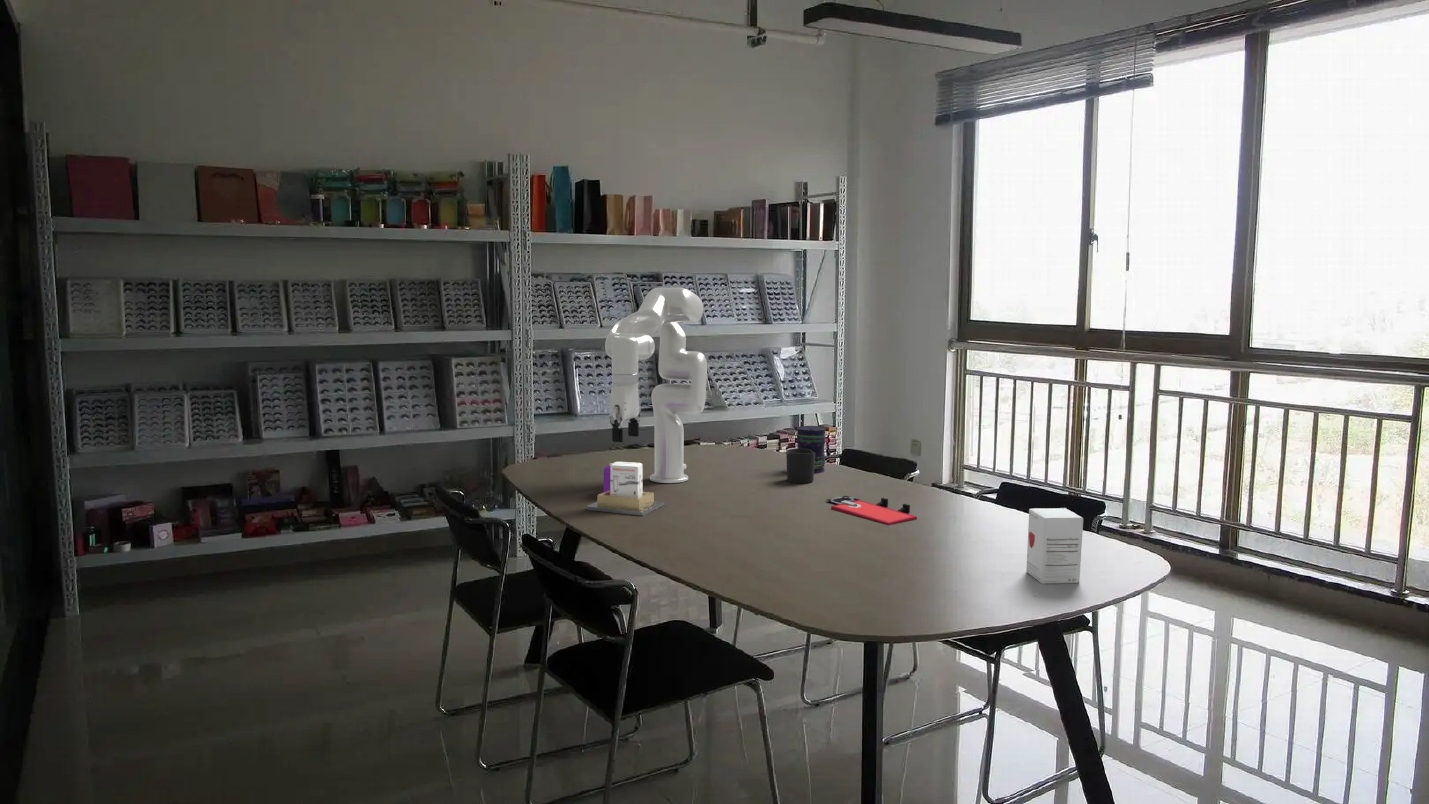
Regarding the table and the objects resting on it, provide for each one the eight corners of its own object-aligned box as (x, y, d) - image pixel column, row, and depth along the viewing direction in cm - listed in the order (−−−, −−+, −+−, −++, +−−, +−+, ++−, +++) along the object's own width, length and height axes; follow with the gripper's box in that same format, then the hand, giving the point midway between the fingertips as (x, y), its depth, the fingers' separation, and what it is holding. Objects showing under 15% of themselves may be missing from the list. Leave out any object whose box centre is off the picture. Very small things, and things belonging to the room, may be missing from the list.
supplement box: (1024, 571, 223) (1027, 507, 221) (1062, 571, 223) (1066, 507, 222) (1041, 584, 214) (1044, 517, 212) (1080, 583, 214) (1084, 517, 213)
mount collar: (609, 499, 291) (609, 486, 291) (664, 505, 285) (664, 491, 284) (586, 509, 279) (586, 496, 278) (642, 515, 272) (642, 501, 271)
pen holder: (819, 480, 321) (820, 450, 320) (806, 485, 313) (807, 454, 312) (794, 477, 326) (794, 447, 325) (780, 481, 318) (781, 451, 317)
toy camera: (645, 489, 306) (645, 458, 305) (637, 499, 292) (637, 466, 291) (611, 488, 307) (611, 457, 306) (602, 498, 293) (601, 465, 292)
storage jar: (797, 467, 342) (797, 425, 341) (825, 468, 341) (826, 426, 339) (795, 473, 333) (796, 429, 331) (824, 474, 331) (825, 430, 329)
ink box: (609, 504, 280) (608, 464, 279) (614, 501, 285) (614, 461, 284) (638, 506, 278) (638, 465, 277) (643, 502, 283) (643, 462, 282)
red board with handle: (850, 497, 297) (813, 505, 288) (850, 488, 296) (813, 496, 287) (926, 519, 273) (888, 528, 264) (926, 509, 272) (888, 518, 264)
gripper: (627, 375, 286) (628, 433, 289) (598, 382, 270) (599, 443, 273) (650, 377, 283) (650, 435, 286) (622, 383, 268) (623, 445, 270)
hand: (625, 438), depth 279 cm, fingers open, 9 cm apart
